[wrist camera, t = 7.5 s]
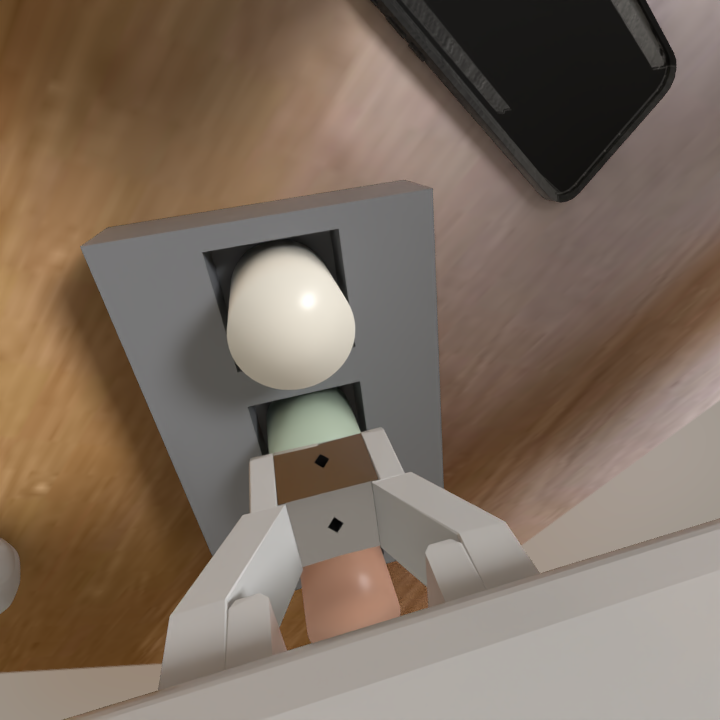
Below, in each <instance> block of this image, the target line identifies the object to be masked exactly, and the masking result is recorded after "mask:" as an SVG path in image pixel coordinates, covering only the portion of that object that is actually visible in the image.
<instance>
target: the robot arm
mask: <svg viewBox="0 0 720 720" xmlns="http://www.w3.org/2000/svg"><path fill="white" fill-rule="evenodd" d="M249 505H250V513H249V514H245V515H242V517H241V518H240V519H239V521H238V522H237V524H236V525H235V526H234V528H233V529H232V531H231V532H230V533H229V535H228V536H227V538H226V539H225V540H224V542H223V543H222V544H221V546H220V547H219V549H218V550H217V551H216V553H215V554H214V556H213V557H212V558H211V560H210V561H209V563H208V564H207V565H206V567H205V568H204V569H203V571H202V572H201V574H200V575H199V576H198V578H197V579H196V581H195V582H194V583H193V585H192V586H191V587H190V589H189V590H188V592H187V593H186V594H185V596H184V597H183V599H182V600H181V601H180V603H179V604H178V606H177V607H176V608H175V610H174V611H173V612H172V614H171V615H170V618H169V624H168V631H167V637H166V643H165V650H164V656H163V662H162V669H161V675H160V682H159V688H158V691H155V692H152V693H148V694H145V695H142V696H139V697H135V698H132V699H129V700H126V701H122V702H119V703H116V704H113V705H109V706H106V707H103V708H99V709H96V710H93V711H90V712H87V713H84V714H80V715H77V716H73V717H70V718H67V719H64V720H720V518H719V519H716V520H713V521H710V522H706V523H703V524H700V525H696V526H693V527H690V528H686V529H684V530H680V531H677V532H673V533H670V534H667V535H664V536H660V537H657V538H654V539H651V540H647V541H644V542H641V543H638V544H634V545H631V546H628V547H624V548H621V549H618V550H615V551H611V552H608V553H605V554H602V555H598V556H595V557H592V558H589V559H585V560H582V561H579V562H576V563H572V564H569V565H566V566H562V567H559V568H556V569H553V570H549V571H546V572H543V573H539V571H538V570H537V568H536V567H535V565H534V564H533V562H532V561H531V559H530V558H529V556H528V555H527V554H526V552H525V550H524V549H523V547H522V546H521V544H520V543H519V541H518V540H517V538H516V537H515V535H514V534H513V532H512V531H511V529H510V528H509V526H508V525H507V523H506V522H505V521H503V520H501V519H499V518H497V517H495V516H494V515H492V514H490V513H488V512H486V511H484V510H482V509H480V508H478V507H477V506H475V505H473V504H471V503H469V502H467V501H465V500H463V499H462V498H460V497H458V496H456V495H454V494H452V493H450V492H448V491H446V490H445V489H443V488H441V487H439V486H437V485H435V484H433V483H431V482H429V481H428V480H426V479H424V478H422V477H420V476H418V475H416V474H414V473H413V472H408V473H404V471H403V468H402V466H401V464H400V462H399V460H398V458H397V456H396V454H395V452H394V450H393V447H392V445H391V443H390V441H389V439H388V437H387V435H386V433H385V431H384V429H383V428H382V427H379V428H375V429H371V430H367V431H364V432H360V433H359V434H355V435H350V436H346V437H342V438H338V439H334V440H330V441H326V442H322V443H317V444H312V445H307V446H303V447H298V448H293V449H289V450H284V451H280V452H275V453H274V454H272V453H271V454H267V455H263V456H258V457H254V458H251V459H250V461H249ZM380 545H381V548H382V549H384V550H385V551H386V552H387V553H388V554H389V555H391V556H392V557H393V558H394V559H395V560H396V561H398V562H399V563H400V564H401V565H402V566H403V567H404V568H406V569H407V570H408V571H409V572H410V573H411V574H413V575H414V576H415V577H416V578H417V579H418V580H419V581H421V582H422V583H423V584H424V585H425V586H426V587H427V591H428V608H426V609H422V610H419V611H416V612H413V613H409V614H406V615H403V616H400V617H396V618H393V619H390V620H387V621H383V622H380V623H377V624H373V625H370V626H367V627H364V628H360V629H357V630H354V631H351V632H347V633H344V634H341V635H338V636H334V637H331V638H328V639H324V640H321V641H318V642H315V643H311V644H308V645H305V646H302V647H298V648H295V649H292V650H289V651H287V649H286V646H285V644H284V641H283V638H282V635H281V632H280V629H279V627H280V625H281V622H282V620H283V617H284V615H285V613H286V610H287V608H288V605H289V603H290V600H291V598H292V596H293V593H294V591H295V588H296V586H297V583H298V581H299V578H300V576H301V574H302V571H303V568H302V567H305V566H308V565H311V564H315V563H318V562H321V561H324V560H328V559H331V558H334V557H337V556H340V555H344V554H348V553H352V552H356V551H360V550H364V549H368V548H372V547H376V546H380ZM341 553H342V554H341Z"/></svg>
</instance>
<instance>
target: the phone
mask: <svg viewBox="0 0 720 720" xmlns="http://www.w3.org/2000/svg"><path fill="white" fill-rule="evenodd" d="M371 1H372V2H373V4H374V5H375V6H377V7H378V8H379V9H380V11H381V12H382V13H383V14H384V15H385V16H386V17H387V18H386V19H387V20H388V22H389V23H390V24H391V25H392V26H393V27H394V28H395V30H396V31H397V32H398V33H399V34H400V35H401V37H402V38H403V39H404V38H405V39H406V41H407V42H408V43H409V47H410V48H411V49H412V50H413V51H414V52H415V53H416V55H417V56H418V57H419V58H420V59H421V60H422V61H425V63H426V64H427V65H428V66H429V67H430V68H431V69H432V71H433V72H434V73H435V74H436V75H437V76H438V78H439V79H440V80H441V81H442V82H443V83H444V84H445V86H446V87H447V88H448V89H449V90H450V91H451V93H452V94H453V95H454V96H455V97H456V98H457V99H458V101H459V102H460V103H461V104H462V105H463V106H464V108H465V109H466V110H467V111H468V112H469V113H470V114H471V116H472V117H473V118H474V119H475V120H476V121H477V123H478V124H479V125H480V126H481V127H482V128H483V129H484V131H485V132H486V133H487V134H488V135H489V136H490V138H491V139H492V140H493V141H494V142H495V143H496V144H497V146H498V147H499V148H500V149H501V150H502V151H503V153H504V154H505V155H506V156H507V157H508V158H509V159H510V161H511V162H512V163H513V164H514V165H515V166H516V168H517V169H518V170H519V171H520V172H521V173H522V174H523V176H524V177H525V178H526V179H527V180H528V181H529V183H530V184H531V185H532V186H533V187H534V188H535V189H536V191H537V192H538V193H539V194H540V195H541V196H542V197H543V198H545V199H548V200H552V201H556V202H567V201H569V200H571V199H573V198H574V197H575V196H576V195H578V194H579V193H580V192H581V191H582V189H583V188H584V187H585V186H586V185H587V184H588V183H589V181H590V180H591V179H592V178H593V177H594V176H595V175H596V173H597V172H598V171H599V170H600V169H601V168H602V167H603V165H604V164H605V163H606V162H607V161H608V160H609V159H610V157H611V156H612V155H613V154H614V153H615V152H616V151H617V149H618V148H619V147H620V146H621V145H622V144H623V143H624V141H625V140H626V139H627V138H628V137H629V136H630V135H631V133H632V132H633V131H634V130H635V129H636V128H637V127H638V125H639V124H640V123H641V122H642V121H643V120H644V119H645V117H646V116H647V115H648V114H649V113H650V112H651V111H652V109H653V108H654V107H655V106H656V105H657V104H658V103H659V101H660V100H661V99H662V98H663V97H664V96H665V94H666V93H667V92H668V90H669V89H670V87H671V85H672V83H673V80H674V78H675V73H676V58H675V55H674V52H673V50H672V48H671V47H670V45H669V43H668V41H667V39H666V37H665V35H664V34H663V32H662V30H661V28H660V26H659V24H658V22H657V21H656V19H655V17H654V15H653V13H652V11H651V9H650V7H649V6H648V4H647V2H646V0H371Z"/></svg>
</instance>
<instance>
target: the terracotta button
mask: <svg viewBox="0 0 720 720" xmlns="http://www.w3.org/2000/svg"><path fill="white" fill-rule="evenodd" d="M341 554H342V553H341ZM302 568H303V571H302V574H301V576H300V578H301V586H302V594H303V602H304V610H305V617H306V625H307V633H308V637H309V640H310V641H311V643H315V642H318V641H321V640H324V639H328V638H331V637H334V636H338V635H341V634H344V633H347V632H351V631H354V630H357V629H360V628H364V627H367V626H370V625H373V624H377V623H380V622H383V621H387V620H390V619H393V618H396V617H400V605H399V602H398V598H397V595H396V592H395V589H394V586H393V583H392V580H391V577H390V574H389V571H388V568H387V565H386V562H385V559H384V556H383V553H382V550H381V547H380V546H376V547H372V548H368V549H364V550H360V551H356V552H352V553H348V554H344V555H340V556H337V557H334V558H331V559H328V560H324V561H321V562H318V563H315V564H311V565H308V566H305V567H302Z"/></svg>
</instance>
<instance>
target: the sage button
mask: <svg viewBox="0 0 720 720" xmlns="http://www.w3.org/2000/svg"><path fill="white" fill-rule="evenodd" d="M266 423H267V436H268V448H269V454H271V453H272V454H274V453H275V452H280V451H284V450H289V449H293V448H298V447H303V446H307V445H312V444H317V443H322V442H326V441H330V440H334V439H338V438H342V437H346V436H350V435H355V434H359V433H360V432H361V431H360V429H359V426H358V424H357V421H356V419H355V416H354V413H353V411H352V408H351V406H350V403H349V401H348V399H347V397H346V395H345V394H344V393H343V392H342V391H341V390H340V389H339V388H337V387H333V388H328V389H324V390H320V391H315V392H311V393H306V394H302V395H298V396H293V397H289V398H284V399H280V400H276V401H272V402H271V404H270V406H269V408H268V411H267V417H266Z"/></svg>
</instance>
